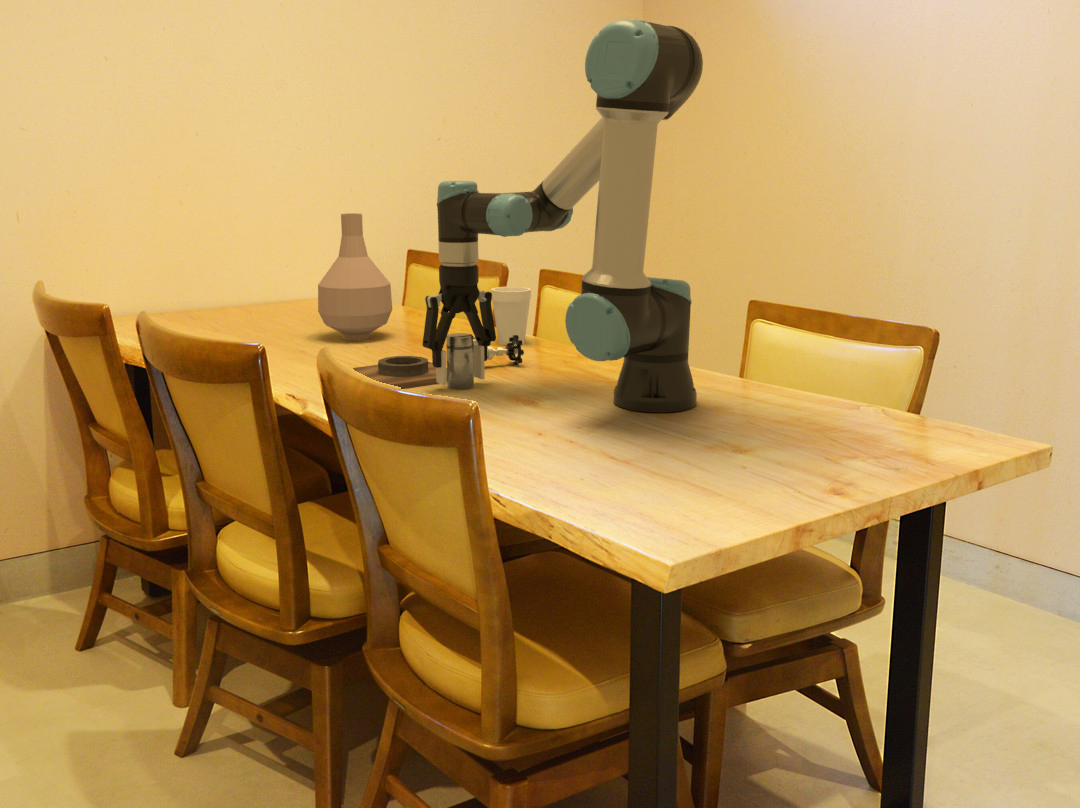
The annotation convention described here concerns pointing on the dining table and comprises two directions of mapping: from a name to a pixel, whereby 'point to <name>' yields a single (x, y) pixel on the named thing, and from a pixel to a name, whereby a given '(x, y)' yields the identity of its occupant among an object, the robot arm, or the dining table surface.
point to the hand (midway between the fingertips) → (460, 380)
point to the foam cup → (511, 312)
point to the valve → (506, 350)
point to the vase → (354, 287)
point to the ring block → (401, 371)
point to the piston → (460, 361)
